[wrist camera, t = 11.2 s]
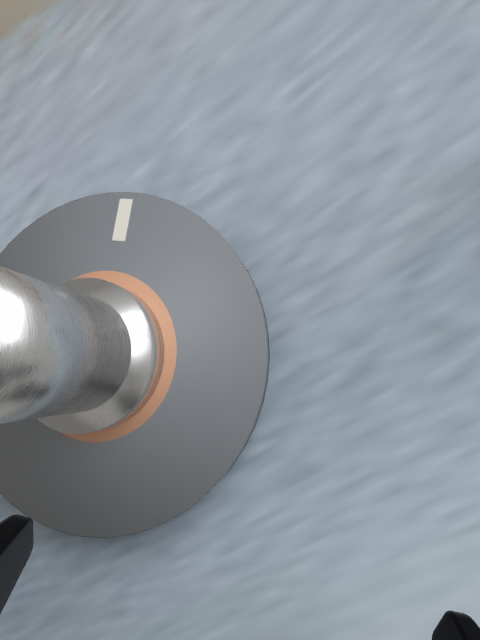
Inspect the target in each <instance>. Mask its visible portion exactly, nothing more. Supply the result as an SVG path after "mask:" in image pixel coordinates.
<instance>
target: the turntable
mask: <svg viewBox="0 0 480 640" xmlns="http://www.w3.org/2000/svg"><path fill="white" fill-rule="evenodd" d="M0 266H1V267H4V268H7V269H10V270H13V271H16V272H19V273H21V274H24V275H27V276H30V277H33V278H36V279H39V280H42V281H45V282H48V283H51V284H54V285H59V284H61V283H64V282H66V281H69V280H73V279H78V278H97V279H103V280H106V281H109V282H111V283H114V284H116V285H118V286H121V287H123V288H125V289H127V290H129V291H131V292H133V293H135V294H136V295H138V296H139V297H140V298H141V299H143V300H144V301H145V302H146V303H147V304H148V306H149V307H150V308H151V310H152V311H153V313H154V314H155V316H156V318H157V320H158V322H159V325H160V327H161V331H162V335H163V340H164V364H163V369H162V374H161V377H160V380H159V383H158V385H157V387H156V389H155V391H154V393H153V395H152V396H151V398H150V399H149V401H148V402H147V403H146V405H145V406H144V407H143V408H142V409H141V410H140V411H139V412H138V413H137V414H136V415H134V416H133V417H132V418H130V419H129V420H127V421H126V422H124V423H121V424H119V425H117V426H114V427H111V428H108V429H103V430H99V431H95V432H91V433H85V434H68V433H62V432H59V431H56V430H53V429H51V428H49V427H47V426H46V425H44V424H43V423H41V422H40V421H39V420H37V419H31V420H25V421H18V422H11V423H4V424H0V493H1V494H2V495H3V496H4V497H5V498H6V499H7V500H8V501H9V502H10V503H11V504H12V505H14V506H15V507H16V508H17V509H19V510H20V511H21V512H22V513H24V514H25V515H27V516H28V517H30V518H32V519H34V520H35V521H37V522H39V523H41V524H42V525H45V526H47V527H50V528H53V529H55V530H58V531H60V532H63V533H68V534H73V535H77V536H82V537H97V538H108V537H118V536H127V535H130V534H134V533H138V532H142V531H146V530H149V529H151V528H153V527H156V526H158V525H160V524H163V523H165V522H167V521H169V520H171V519H173V518H174V517H176V516H177V515H179V514H181V513H182V512H184V511H185V510H187V509H189V508H190V507H191V506H192V505H194V504H195V503H196V502H197V501H198V500H200V499H201V498H202V497H203V496H204V495H205V494H207V493H208V492H209V491H210V490H211V489H212V488H213V487H214V486H215V485H216V484H217V483H218V482H219V481H220V479H221V478H222V477H223V476H224V475H225V474H226V473H227V472H228V471H229V469H230V468H231V467H232V466H233V464H234V463H235V461H236V460H237V458H238V457H239V455H240V454H241V452H242V451H243V449H244V448H245V446H246V444H247V442H248V440H249V438H250V436H251V434H252V432H253V430H254V428H255V425H256V423H257V420H258V417H259V414H260V411H261V408H262V405H263V401H264V397H265V392H266V387H267V382H268V372H269V359H270V354H269V336H268V329H267V324H266V318H265V313H264V309H263V306H262V303H261V300H260V297H259V294H258V291H257V289H256V287H255V285H254V282H253V280H252V278H251V276H250V274H249V272H248V270H247V269H246V267H245V266H244V264H243V263H242V261H241V260H240V258H239V257H238V255H237V254H236V253H235V251H234V250H233V249H232V247H231V246H230V245H229V244H228V243H227V242H226V240H225V239H224V238H223V237H222V236H221V235H220V234H219V233H218V232H217V230H215V229H214V228H213V227H212V226H211V225H209V224H208V223H207V222H206V221H205V220H203V219H202V218H201V217H199V216H198V215H196V214H194V213H193V212H191V211H190V210H188V209H186V208H185V207H183V206H180V205H178V204H176V203H173V202H171V201H169V200H166V199H163V198H159V197H155V196H152V195H148V194H140V193H131V192H112V193H103V194H97V195H91V196H87V197H84V198H81V199H77V200H74V201H71V202H69V203H67V204H64V205H62V206H60V207H57V208H55V209H53V210H52V211H50V212H48V213H47V214H45V215H43V216H42V217H40V218H38V219H37V220H36V221H34V222H33V223H32V224H30V225H29V226H28V227H26V228H25V229H24V230H23V231H22V232H21V233H19V234H18V235H17V236H16V237H15V238H14V239H13V240H12V241H11V242H10V243H9V244H8V245H7V246H6V248H5V249H4V250H3V251H2V252H1V254H0Z"/></svg>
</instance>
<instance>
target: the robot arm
mask: <svg viewBox="0 0 480 640" xmlns="http://www.w3.org/2000/svg"><path fill="white" fill-rule="evenodd" d="M32 548H33V520H32V519H31V518H29V517H25V516H21V515H12V516H9V517H8V518H6V519H5V520H3V521H2V522H0V614H1V612H2V610H3V608H4V606H5V604H6V602H7V600H8V598H9V596H10V594H11V592H12V590H13V588H14V586H15V584H16V582H17V580H18V578H19V576H20V574H21V572H22V570H23V568H24V566H25V564H26V562H27V560H28V558H29V556H30V554H31V552H32ZM432 640H480V628H479V627H478V625H477V624H476V623H475V622H474V620H473V619H472V618H471V617H469V616H468V615H466V614H464V613H459V612H455V611H447V612H446V613H445V614H444V615H443V617H442V619H441V620H440V622H439V623H438V625H437V627H436V628H435V630H434V632H433V635H432Z"/></svg>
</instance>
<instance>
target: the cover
mask: <svg viewBox="0 0 480 640" xmlns="http://www.w3.org/2000/svg"><path fill="white" fill-rule="evenodd" d="M163 364H164V340H163V335H162V331H161V327H160V325H159V322H158V320H157V318H156V316H155V314H154V313H153V311H152V310H151V308H150V307H149V306H148V304H147V303H146V302H145V301H144V300H143V299H141V298H140V297H139V296H138V295H136V294H135V293H133V292H131V291H129V290H127V289H125V288H123V287H121V286H118V285H116V284H114V283H111V282H109V281H106V280H103V279H97V278H78V279H73V280H69V281H66V282H64V283H61V284H59V285H54V284H51V283H48V282H45V281H42V280H39V279H36V278H33V277H30V276H27V275H24V274H21V273H19V272H16V271H13V270H10V269H7V268H4V267H1V266H0V424H4V423H11V422H18V421H25V420H31V419H37V420H39V421H40V422H41V423H43V424H44V425H46V426H47V427H49V428H51V429H53V430H56V431H59V432H62V433H68V434H85V433H91V432H95V431H99V430H103V429H108V428H111V427H114V426H117V425H119V424H121V423H124V422H126V421H127V420H129V419H130V418H132V417H133V416H134V415H136V414H137V413H138V412H139V411H140V410H141V409H142V408H143V407H144V406H145V405H146V403H147V402H148V401H149V399H150V398H151V396H152V395H153V393H154V391H155V389H156V387H157V385H158V383H159V380H160V377H161V374H162V369H163Z"/></svg>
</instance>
